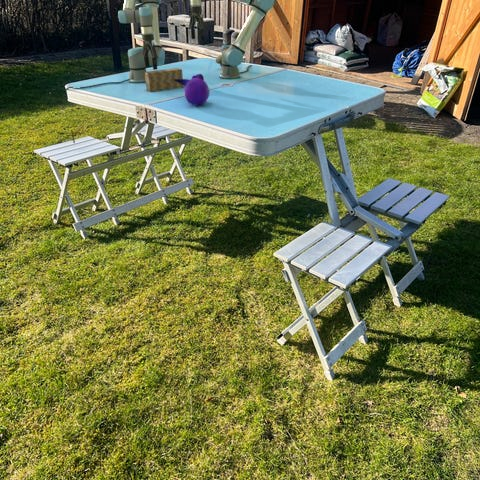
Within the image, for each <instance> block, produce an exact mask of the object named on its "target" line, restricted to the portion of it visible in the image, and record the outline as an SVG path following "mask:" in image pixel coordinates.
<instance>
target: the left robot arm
mask: <svg viewBox="0 0 480 480" xmlns="http://www.w3.org/2000/svg"><path fill="white" fill-rule="evenodd" d="M161 3H162V0H124V3H123V7H122V10H118V12H117V14H118V15H117V17H118V21H119V24H140V33H141V40H142V46H138V47H132V48H130V49H128V50H127V56H128V57H127V58H128V64H129V65H128V66H129V76H128V79H125V80H121V81H113V82H112V81H110V82H103V83H102V82H101V83H96V84H93V85H87V86H86V85H85V86H79V87H80V88H73V87H74V86H68V87H66V88H65V91H69V89H74V90H78V89H81V90H82V89H87V88H93V87H98V86H102V85H103V86H104V85H110V84H111V85H112V84H122V83H125V82H129V83H133V84H141V83H146V80H145V72H148V71H147V68H150V67H152V71H157V70H158V67H159V66H163V65H165V61H166V60H165V59H166V51H165V50H166V49H165V48H163V45H162V44H161V39H160V26H159V15H158V14H159V12H158V9H159V7H160V4H161ZM136 5H142V7H139V8H138V9H136ZM73 131H74V130H73V129H71V130H70V132H71V137H72V141H73V144H76V141H75V136H74V132H73Z"/></svg>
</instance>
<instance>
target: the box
mask: <svg viewBox="0 0 480 480" xmlns="http://www.w3.org/2000/svg"><path fill="white" fill-rule="evenodd" d="M174 79H184V77H183V69H182V68H179V67H175V68H168V69H167V68H166V69H156V70H150V71H147V72H145V80H146V82H145V87H146V91H148V92H150V93H153V92H159V91H166V90H167V91H168V90H174V89H181V88H184V85H182V84H180V83H178V82H176V81H174Z"/></svg>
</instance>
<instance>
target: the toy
mask: <svg viewBox="0 0 480 480" xmlns="http://www.w3.org/2000/svg"><path fill="white" fill-rule="evenodd" d="M174 81H176V82H178V83H180V84H182V85H183V87H184V97H185V99H186V101H187V103H189V104H190V105H193V106H199V107H200V106H202V105H204V104H205V103H206V102H207V101H208V99H209V97H210V87H209V86H208V83H207V82H206V81H205V79H204V76H203V75H202V74H201V73H197V74H195V75H192V76H191V78H190V79H187V78H183V79H174Z"/></svg>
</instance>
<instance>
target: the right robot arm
mask: <svg viewBox="0 0 480 480" xmlns="http://www.w3.org/2000/svg"><path fill="white" fill-rule="evenodd" d="M232 1H233V2H238V3H243V4H246V5H247V6H250V7H251V11H250V13H249V15H248V16H247V19H246V21H245V22H244V24H243V26H242V28H241V30H240V32H238V35H237V37H236V39H235V40H234V41H233V42H231V44H225V45H221V51H220V52H221V56H222V67H221V69H220V74H219V77H220V79H223V80H224V79H225V80H235V79H239V78H241V74H244V73H247V72H248V71H249V67H252V64H251V65H248V66H247V67H246V69H247V70H244V71H239V67H238V66H239V65H241V64H242V63H243V60H244V55H245V54H246V48H247V46H248V44H249V42H250V40H251V39H252V37H253V35H254V33H255V32H256V29H257V28H258V26H259V24H260V23H261V21H262V18H263V17H266V16H267V14H268V12H269V11H270V10H271V9H273V7H274V5H275V0H232ZM189 6H190V7H189V9H190V13H189V17H190V18H189V23H188V28H189V29H190V35H191V36H190V38H191V40H196V28H195V27H196V23H197V25H198V28H199V39H200V40H199V41H200V42H204V41H205V30H206V29H207V28H206V24H205V21H204V16H203V14H202V13H203V11H202V0H189Z"/></svg>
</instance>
